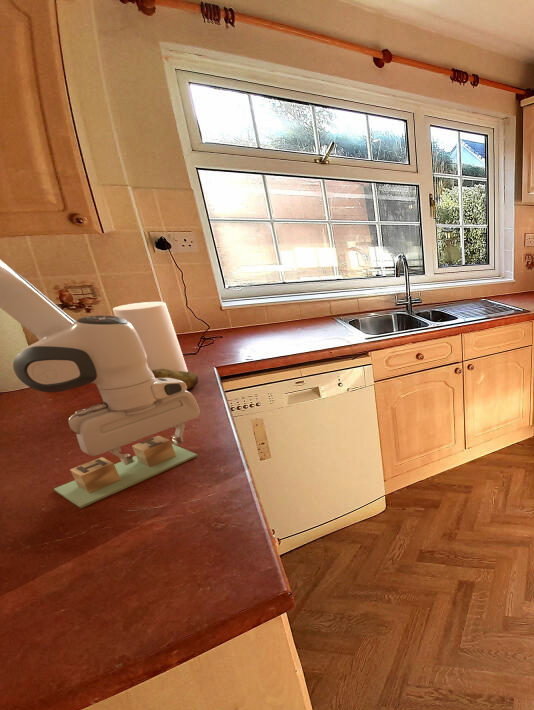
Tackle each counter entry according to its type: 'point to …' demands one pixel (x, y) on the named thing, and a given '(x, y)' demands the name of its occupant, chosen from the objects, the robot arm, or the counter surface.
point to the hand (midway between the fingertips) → (154, 452)
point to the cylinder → (154, 334)
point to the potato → (177, 376)
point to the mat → (123, 478)
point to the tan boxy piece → (154, 451)
